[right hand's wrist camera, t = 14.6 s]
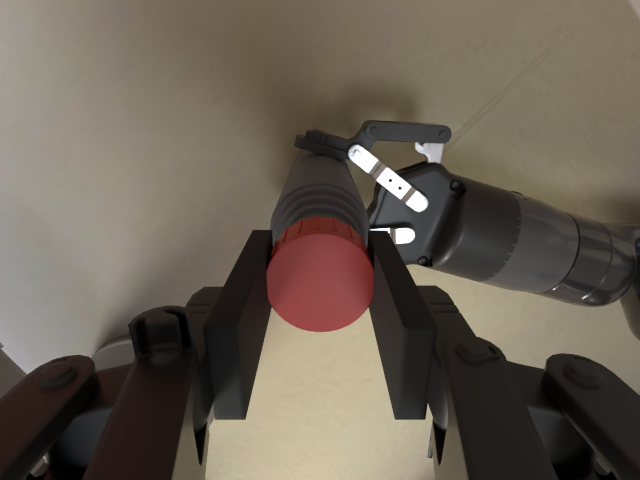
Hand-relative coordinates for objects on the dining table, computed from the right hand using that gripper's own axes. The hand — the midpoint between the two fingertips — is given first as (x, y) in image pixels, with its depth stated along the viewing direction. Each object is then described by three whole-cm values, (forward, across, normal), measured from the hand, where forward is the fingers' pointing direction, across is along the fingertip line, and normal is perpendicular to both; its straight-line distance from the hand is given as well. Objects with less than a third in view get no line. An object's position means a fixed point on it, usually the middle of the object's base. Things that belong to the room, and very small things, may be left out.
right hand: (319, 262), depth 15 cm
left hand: (+14, -2, +1) cm, 14 cm away
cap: (-2, 0, 0) cm, 2 cm away
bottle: (+20, 0, 0) cm, 20 cm away
